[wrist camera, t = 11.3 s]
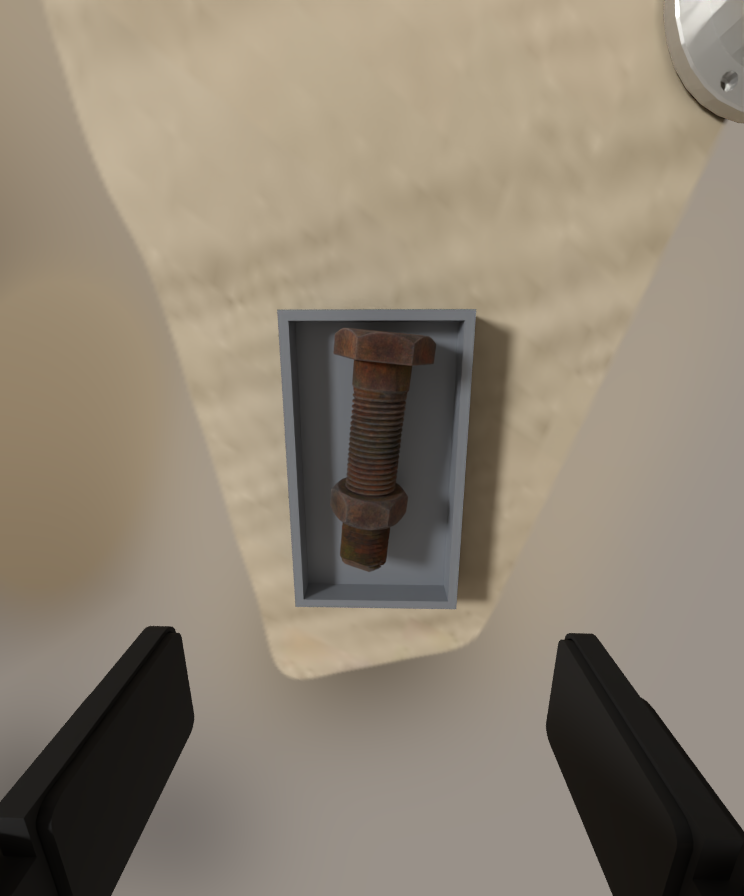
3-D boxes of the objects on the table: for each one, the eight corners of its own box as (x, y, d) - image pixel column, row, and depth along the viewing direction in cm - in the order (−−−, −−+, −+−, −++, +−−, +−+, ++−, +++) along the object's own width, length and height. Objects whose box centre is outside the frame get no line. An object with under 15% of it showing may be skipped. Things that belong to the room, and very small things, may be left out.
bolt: (355, 531, 30) (374, 330, 25) (414, 555, 27) (446, 337, 23) (305, 566, 25) (318, 324, 21) (371, 599, 23) (402, 333, 18)
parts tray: (466, 312, 24) (476, 309, 22) (450, 587, 30) (456, 609, 27) (287, 313, 25) (277, 309, 22) (302, 585, 30) (295, 606, 27)
